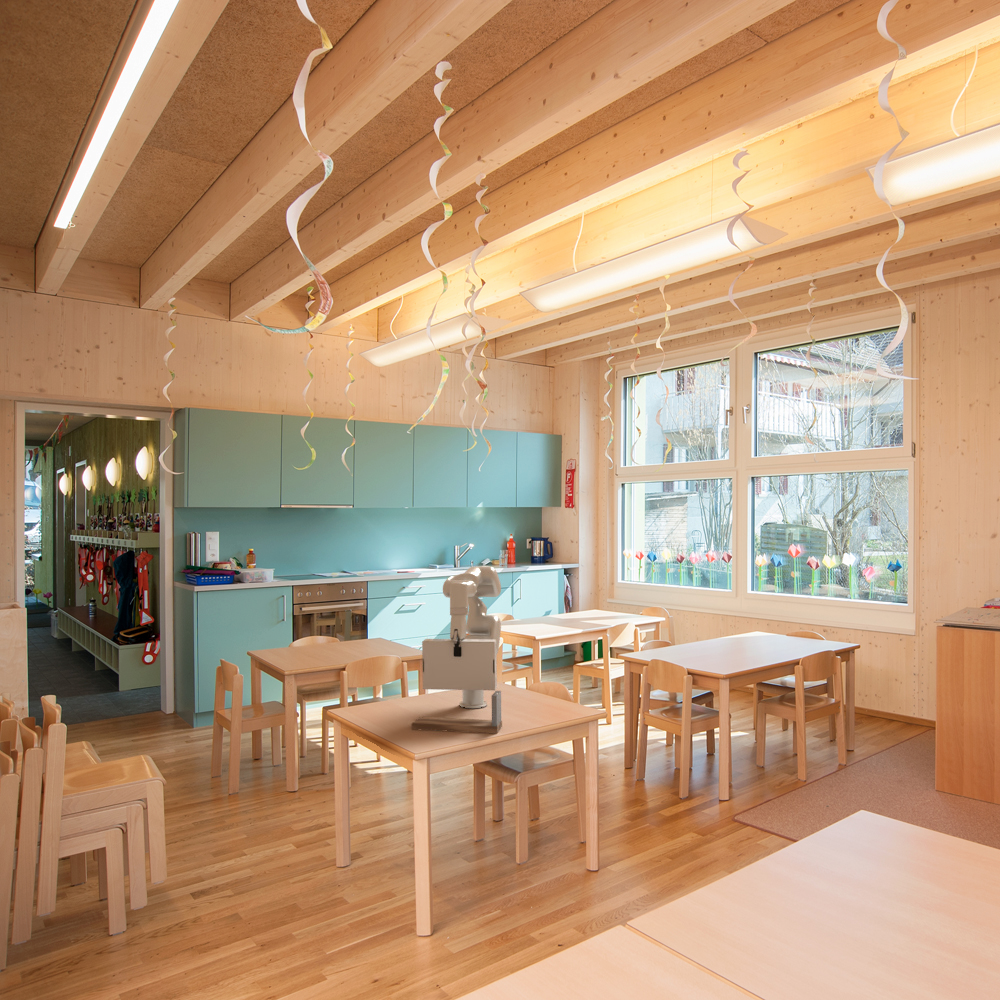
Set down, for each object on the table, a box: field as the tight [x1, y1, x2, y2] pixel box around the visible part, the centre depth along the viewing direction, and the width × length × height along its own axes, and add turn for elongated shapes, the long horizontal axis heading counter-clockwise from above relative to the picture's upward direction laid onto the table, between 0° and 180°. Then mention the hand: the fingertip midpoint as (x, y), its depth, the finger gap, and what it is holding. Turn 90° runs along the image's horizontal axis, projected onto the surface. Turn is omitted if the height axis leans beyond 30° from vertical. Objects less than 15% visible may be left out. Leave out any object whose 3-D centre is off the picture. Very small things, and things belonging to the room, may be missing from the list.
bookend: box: [491, 690, 502, 727], centre depth 306 cm, size 9×2×12 cm, turn 169°
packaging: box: [421, 638, 498, 691], centre depth 320 cm, size 30×6×20 cm, turn 83°
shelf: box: [411, 716, 503, 734], centre depth 309 cm, size 10×35×2 cm, turn 79°
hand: (459, 655), depth 320 cm, fingers closed on packaging, 4 cm apart
